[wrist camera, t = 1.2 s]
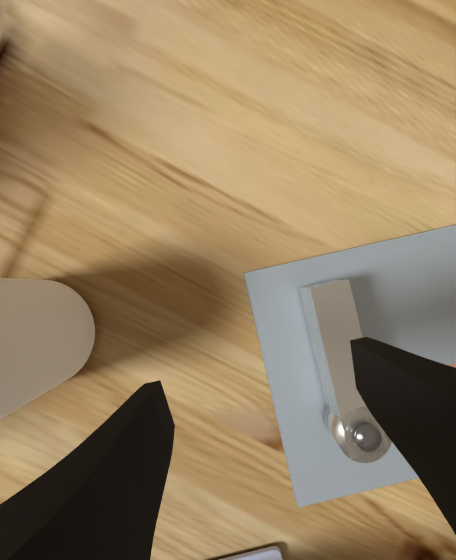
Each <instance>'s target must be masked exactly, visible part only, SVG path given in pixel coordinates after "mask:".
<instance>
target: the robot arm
mask: <svg viewBox="0 0 456 560" xmlns="http://www.w3.org/2000/svg"><path fill="white" fill-rule="evenodd" d="M350 345H351V353H352V360H353V368H354V375H355V383H356V389H357V391H358V392H359V394H360V396H361V398H362V399H363V401H364V403H365V405H366V406H367V408H368V410H369V411H370V413H371V414H372V416H373V417H374V419H375V420H376V421H377V423H378V424H379V425H380V427H381V428H382V429H383V431H384V432H385V433H386V435H387V436H388V437H389V439H390V440H391V441H392V442H393V444H394V445H395V446H396V448H397V449H398V450H399V452H400V453H401V454H402V456H403V457H404V458H405V460H406V461H407V462H408V464H409V465H410V466H411V467H412V469H413V470H414V471H415V473H416V474H417V476H418V477H419V478H420V480H421V481H422V483H423V484H424V485H425V487H426V488H427V490H428V491H429V493H430V495H431V496H432V498H433V499H434V501H435V502H436V504H437V506H438V507H439V509H440V510H441V512H442V514H443V515H444V517H445V518H446V520H447V521H448V523H449V525H450V526H451V528H452V529H453V531H454V533H455V534H456V368H455V367H452V366H448V365H445V364H442V363H439V362H436V361H433V360H430V359H427V358H424V357H421V356H419V355H416V354H413V353H410V352H408V351H405V350H402V349H400V348H397V347H394V346H392V345H389V344H386V343H384V342H381V341H378V340H375V339H372V338H369V337H363V338H358V339H354V340H350ZM174 428H175V425H174V422H173V419H172V416H171V412H170V409H169V406H168V403H167V400H166V397H165V394H164V391H163V388H162V385H161V381H155V382H151V383H146V384H144V385H143V386H141V387H140V388H139V389H138V390H137V391H136V392H135V393H134V394H133V395H132V396H131V397H130V398H129V399H128V400H127V401H126V402H125V403H124V404H123V405H122V406H121V407H120V408H119V409H118V410H117V411H115V412H114V413H113V414H112V415H111V416H110V417H109V418H108V419H107V420H106V421H105V422H104V423H103V424H102V425H101V426H100V427H99V428H98V429H97V430H95V431H94V432H93V433H92V434H91V435H90V436H89V437H88V438H87V439H86V440H85V441H83V442H82V443H81V444H80V445H79V446H78V447H77V448H76V449H74V450H73V451H72V452H71V453H70V454H68V455H67V456H66V457H65V458H63V459H62V460H61V461H60V462H58V463H57V464H56V465H55V466H53V467H52V468H51V469H50V470H48V471H47V472H46V473H44V474H43V475H42V476H40V477H39V478H37V479H36V480H35V481H33V482H32V483H30V484H29V485H27V486H26V487H25V488H23V489H22V490H20V491H19V492H18V493H16V494H15V495H13V496H12V497H11V498H9V499H8V500H6V501H5V502H3V503H2V504H0V560H150V556H151V549H152V542H153V536H154V531H155V526H156V521H157V517H158V513H159V508H160V504H161V500H162V495H163V491H164V487H165V482H166V478H167V474H168V469H169V465H170V460H171V455H172V449H173V440H174ZM219 560H283V558H282V554H281V550H280V548H279V547H277V546H271V547H267V548H263V549H259V550H255V551H251V552H247V553H243V554H239V555H235V556H231V557H227V558H223V559H219Z"/></svg>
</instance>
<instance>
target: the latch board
mask: <svg viewBox="0 0 456 560" xmlns="http://www.w3.org/2000/svg"><path fill="white" fill-rule="evenodd" d="M244 278H245V283H246V287H247V291H248V296H249V300H250V304H251V309H252V313H253V317H254V322H255V326H256V330H257V335H258V339H259V344H260V348H261V352H262V357H263V361H264V365H265V370H266V374H267V378H268V383H269V387H270V391H271V396H272V400H273V405H274V409H275V413H276V418H277V422H278V426H279V431H280V435H281V439H282V444H283V448H284V453H285V457H286V461H287V466H288V470H289V474H290V479H291V483H292V487H293V492H294V496H295V500H296V502H297V505H298V507H302V506H306V505H310V504H315V503H319V502H323V501H327V500H331V499H335V498H339V497H343V496H347V495H351V494H355V493H359V492H363V491H367V490H371V489H375V488H380V487H384V486H388V485H392V484H396V483H400V482H404V481H408V480H412V479H416V478H419V477H418V476H417V474H416V473H415V471H414V470H413V469H412V467H411V466H410V465H409V464H408V462H407V461H406V460H405V458H404V457H403V456H402V454H401V453H400V452H399V450H398V449H397V448H396V446H395V445H394V444H393V442H392V443H391V446H390V448H389V450H388V451H387V453H386V454H385V455H384V456H383V457H382V458H380V459H379V460H377V461H374V462H371V463H359V462H356V461H353V460H351V459H349V458H348V457H347V456H346V455H345V454H344V453H343V451H342V450H341V449H340V447H339V446H338V445H337V443H336V442H335V440H334V439H333V438H332V436H331V435H330V433H329V432H328V431H327V429H326V428H325V426H324V423H323V419H322V411H323V407H324V405H325V399H324V394H323V390H322V386H321V382H320V377H319V373H318V369H317V364H316V360H315V356H314V351H313V347H312V343H311V338H310V334H309V330H308V326H307V321H306V317H305V313H304V308H303V304H302V300H301V295H300V291H299V288H301V287H305V286H309V285H314V284H318V283H323V282H327V281H331V280H348V279H349V282H350V286H351V290H352V295H353V299H354V303H355V307H356V312H357V316H358V320H359V324H360V329H361V333H362V337H369V338H372V339H375V340H378V341H381V342H384V343H386V344H389V345H392V346H394V347H397V348H400V349H402V350H405V351H408V352H410V353H413V354H416V355H419V356H421V357H424V358H427V359H430V360H433V361H436V362H439V363H442V364H445V365H448V366H452V367H455V368H456V225H453V226H449V227H444V228H440V229H436V230H431V231H427V232H422V233H418V234H414V235H409V236H405V237H401V238H396V239H392V240H387V241H383V242H379V243H374V244H370V245H365V246H361V247H357V248H352V249H348V250H343V251H339V252H335V253H330V254H326V255H322V256H317V257H313V258H308V259H304V260H300V261H295V262H291V263H286V264H282V265H278V266H273V267H269V268H265V269H260V270H256V271H251V272H247V273H244Z"/></svg>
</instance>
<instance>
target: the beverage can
mask: <svg viewBox="0 0 456 560" xmlns="http://www.w3.org/2000/svg"><path fill="white" fill-rule="evenodd" d="M94 340H95V324H94V319H93V316H92V313H91V311H90V309H89V307H88V305H87V304H86V302H85V301H84V299H83V298H82V297H81V296H80V295H79V294H78V293H77V292H76V291H74V290H73V289H71V288H70V287H68V286H66V285H64V284H62V283H59V282H56V281H51V280H40V279H10V278H0V420H2V419H3V418H5V417H6V416H8V415H10V414H11V413H13V412H15V411H16V410H18V409H20V408H21V407H23V406H25V405H26V404H28V403H30V402H31V401H33V400H35V399H36V398H38V397H40V396H41V395H43V394H45V393H46V392H48V391H50V390H51V389H53V388H55V387H56V386H58V385H59V384H61V383H63V382H64V381H66V380H68V379H69V378H71V377H72V376H74V375H75V374H76V373H77V372H78V371H79V370H80V369H81V368H82V367H83V366H84V364H85V363H86V361H87V360H88V358H89V356H90V354H91V352H92V349H93V345H94Z"/></svg>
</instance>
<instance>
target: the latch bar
mask: <svg viewBox="0 0 456 560" xmlns="http://www.w3.org/2000/svg"><path fill="white" fill-rule="evenodd" d="M299 291H300V295H301V300H302V304H303V308H304V313H305V317H306V321H307V326H308V330H309V334H310V338H311V343H312V347H313V351H314V356H315V360H316V364H317V369H318V373H319V377H320V382H321V386H322V390H323V394H324V399H325V405H324V407H323V411H322V419H323V423H324V426H325V428H326V429H327V431H328V432H329V433H330V435H331V436H332V438H333V439H334V440H335V442H336V443H337V445H338V446H339V447H340V449H341V450H342V451H343V453H344V454H345V455H346V456H347V457H348V458H349V459H351V460H353V461H356V462H359V463H371V462H374V461H377V460H379V459H380V458H382V457H383V456H384V455H385V454H386V453H387V451H388V450H389V448H390V446H391V443H392V441H391V440H390V439H389V437H388V436H387V435H386V433H385V432H384V431H383V429H382V428H381V427H380V425H379V424H378V423H377V421H376V420H375V419H374V417H373V416H372V414H371V413H370V411H369V410H368V408H367V406H366V405H365V403H364V401H363V399H362V398H361V396H360V394H359V392H358V391H357V389H356V383H355V375H354V368H353V360H352V353H351V345H350V340H354V339H358V338H363V337H362V333H361V329H360V324H359V320H358V316H357V312H356V307H355V303H354V299H353V295H352V290H351V286H350V282H349V279H348V280H331V281H327V282H323V283H318V284H314V285H309V286H305V287H301V288H299Z"/></svg>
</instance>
